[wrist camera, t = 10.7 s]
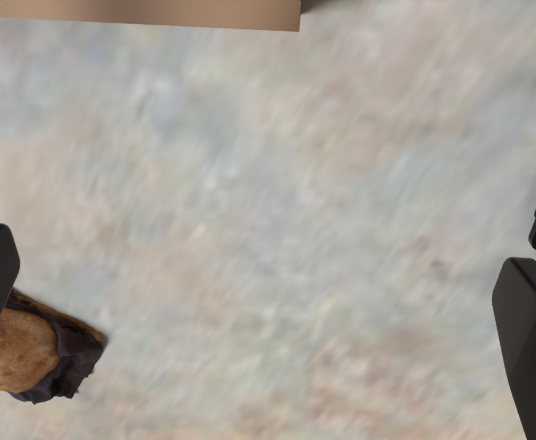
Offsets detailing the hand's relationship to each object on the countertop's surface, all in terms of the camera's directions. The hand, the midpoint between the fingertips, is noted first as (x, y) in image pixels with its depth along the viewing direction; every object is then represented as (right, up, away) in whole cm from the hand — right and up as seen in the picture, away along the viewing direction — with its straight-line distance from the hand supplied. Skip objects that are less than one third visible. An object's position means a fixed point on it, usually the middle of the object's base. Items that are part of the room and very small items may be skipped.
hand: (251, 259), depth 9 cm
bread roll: (-15, -6, +22) cm, 28 cm away
